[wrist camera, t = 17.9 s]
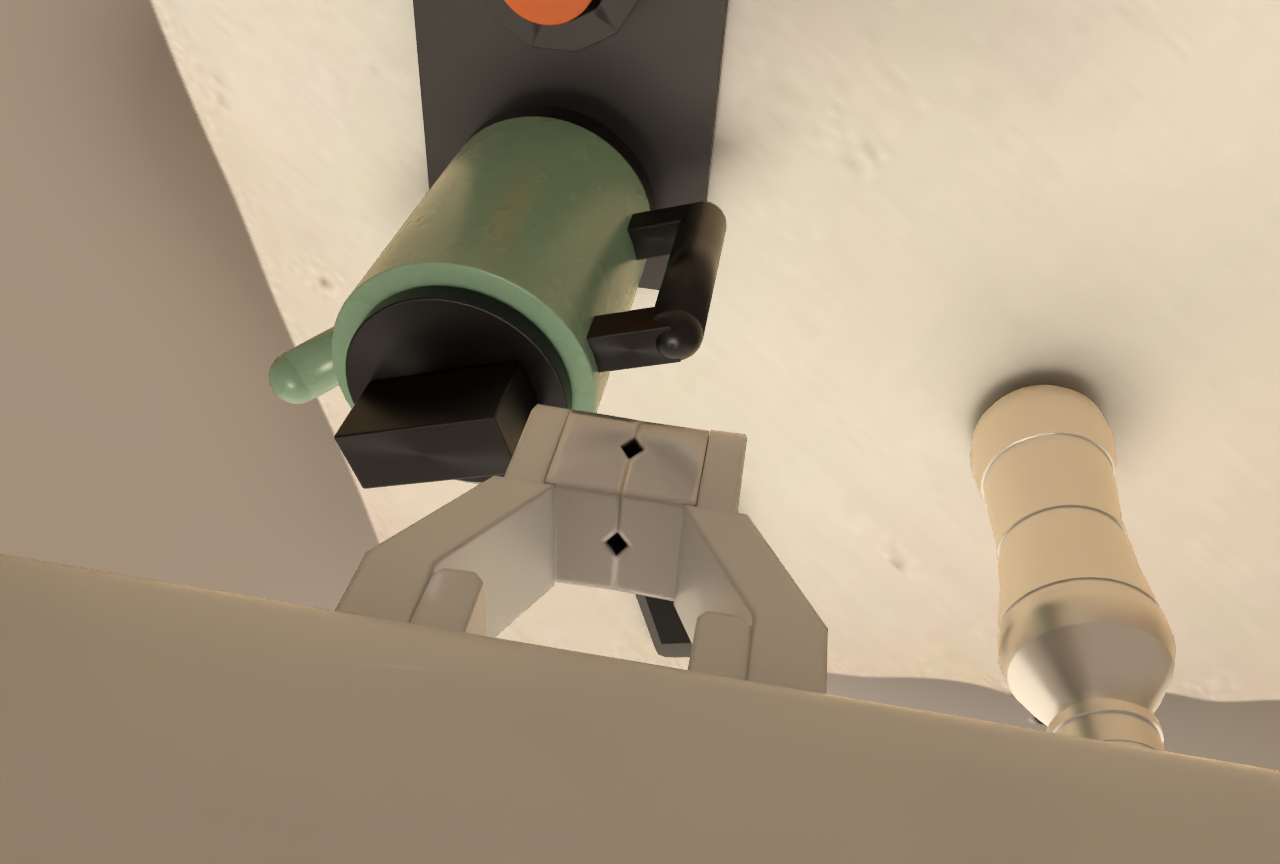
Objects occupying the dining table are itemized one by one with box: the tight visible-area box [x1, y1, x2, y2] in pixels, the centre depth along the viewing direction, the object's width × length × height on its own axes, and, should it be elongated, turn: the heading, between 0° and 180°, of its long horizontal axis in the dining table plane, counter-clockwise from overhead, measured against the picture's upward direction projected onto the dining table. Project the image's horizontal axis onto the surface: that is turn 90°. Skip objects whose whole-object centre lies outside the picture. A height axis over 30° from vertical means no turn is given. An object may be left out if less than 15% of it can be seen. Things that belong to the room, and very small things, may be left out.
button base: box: [413, 0, 728, 290], centre depth 42 cm, size 18×13×3 cm
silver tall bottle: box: [970, 384, 1176, 751], centre depth 42 cm, size 6×7×20 cm
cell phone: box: [636, 594, 692, 657], centre depth 60 cm, size 7×14×1 cm, turn 15°
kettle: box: [269, 105, 726, 489], centre depth 37 cm, size 17×9×17 cm, turn 106°
